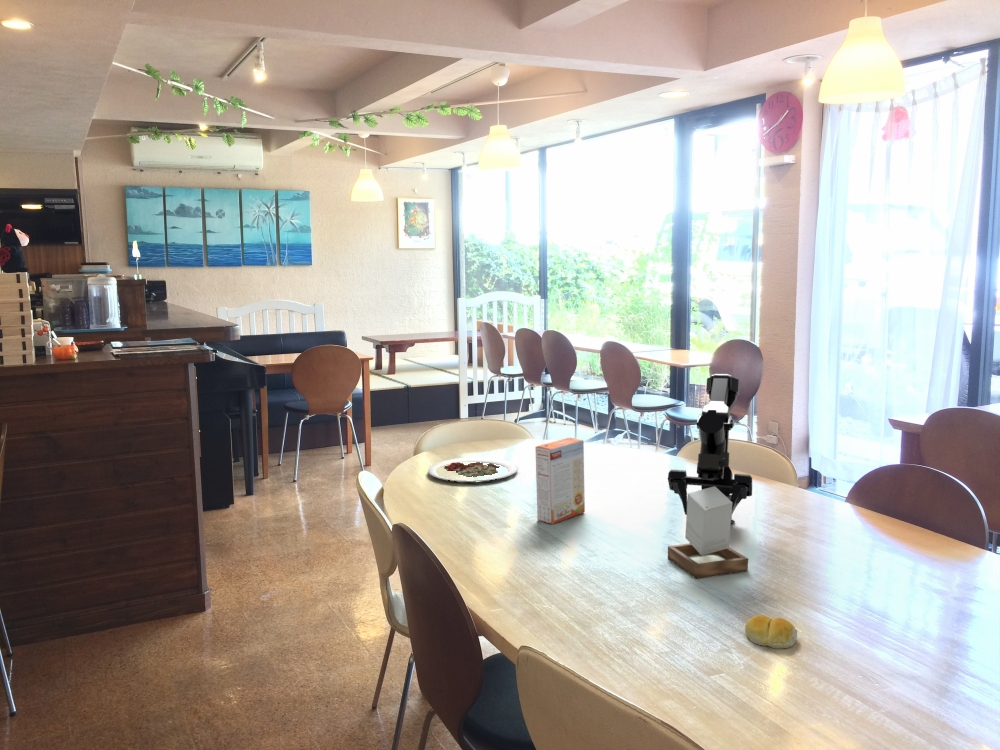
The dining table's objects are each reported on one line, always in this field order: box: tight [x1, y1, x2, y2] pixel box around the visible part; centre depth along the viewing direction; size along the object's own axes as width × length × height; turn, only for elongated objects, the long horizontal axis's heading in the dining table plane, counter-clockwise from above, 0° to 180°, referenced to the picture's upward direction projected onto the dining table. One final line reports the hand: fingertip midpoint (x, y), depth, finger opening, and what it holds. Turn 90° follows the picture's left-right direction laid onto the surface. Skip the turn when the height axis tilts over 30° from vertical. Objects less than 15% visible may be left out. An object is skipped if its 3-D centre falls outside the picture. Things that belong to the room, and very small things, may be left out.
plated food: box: [427, 456, 519, 483], centre depth 267 cm, size 30×30×3 cm
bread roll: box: [744, 614, 798, 649], centre depth 148 cm, size 8×9×4 cm
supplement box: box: [684, 486, 733, 555], centre depth 181 cm, size 7×7×13 cm
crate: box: [667, 542, 749, 579], centre depth 184 cm, size 13×13×3 cm
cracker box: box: [535, 437, 586, 525], centre depth 219 cm, size 14×6×21 cm, turn 135°
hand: (707, 515), depth 181 cm, fingers closed on supplement box, 9 cm apart
